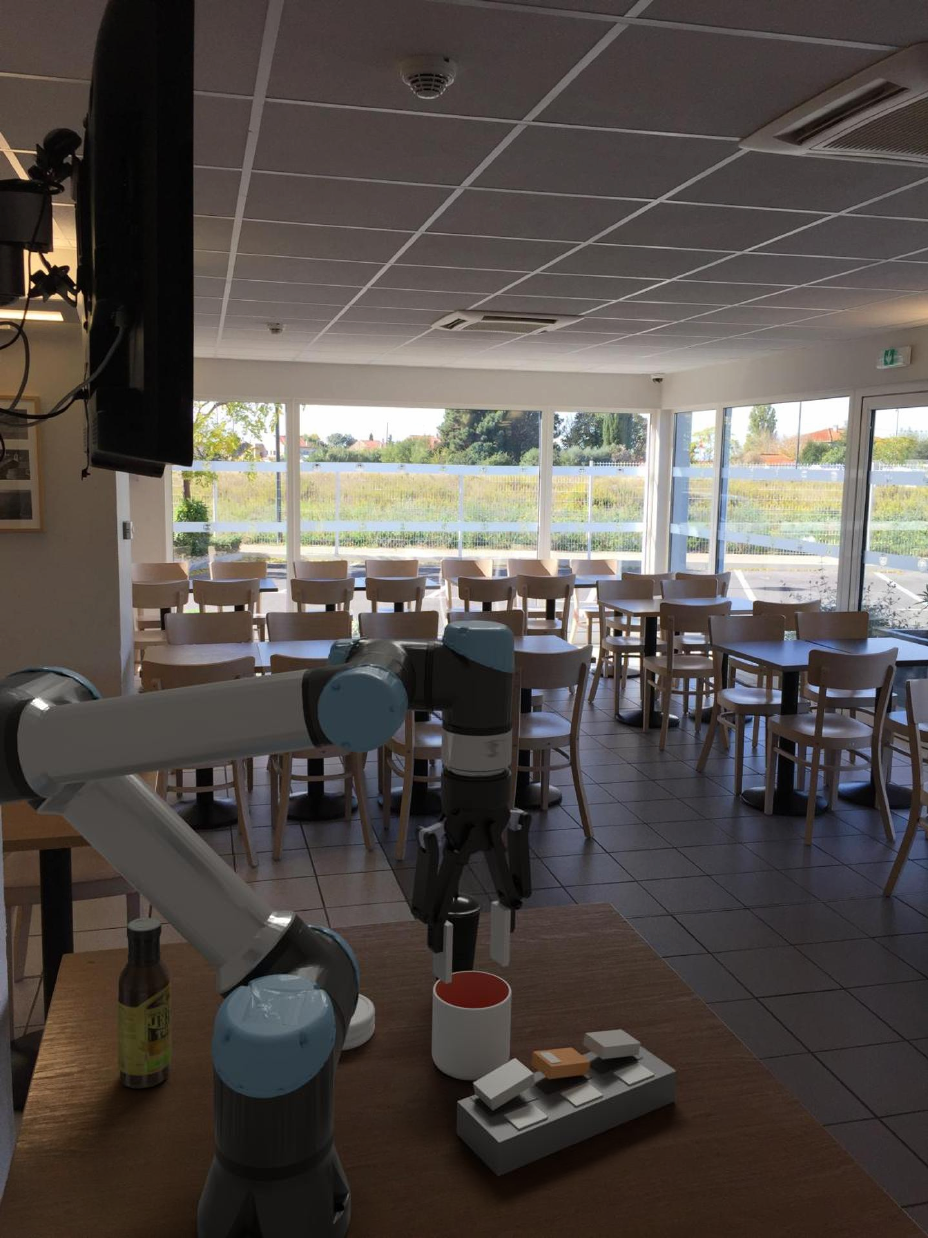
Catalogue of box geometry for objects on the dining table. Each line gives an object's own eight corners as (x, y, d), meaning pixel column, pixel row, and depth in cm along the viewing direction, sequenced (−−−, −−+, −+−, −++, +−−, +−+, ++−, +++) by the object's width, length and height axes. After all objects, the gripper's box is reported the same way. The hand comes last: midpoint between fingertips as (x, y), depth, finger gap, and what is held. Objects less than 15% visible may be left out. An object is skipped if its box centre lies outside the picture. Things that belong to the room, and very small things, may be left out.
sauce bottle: (156, 1095, 123) (152, 939, 120) (109, 1088, 124) (104, 933, 121) (181, 1066, 129) (178, 916, 126) (136, 1059, 130) (132, 911, 128)
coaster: (321, 1007, 144) (321, 984, 144) (386, 1021, 141) (386, 997, 141) (286, 1044, 135) (286, 1019, 135) (355, 1059, 132) (355, 1034, 131)
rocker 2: (548, 1079, 118) (551, 1066, 118) (530, 1064, 121) (533, 1051, 121) (587, 1074, 122) (590, 1061, 122) (569, 1059, 125) (571, 1046, 125)
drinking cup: (462, 1011, 144) (465, 875, 141) (417, 996, 148) (419, 863, 145) (489, 989, 150) (493, 858, 147) (445, 974, 154) (448, 847, 151)
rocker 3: (602, 1059, 123) (604, 1047, 123) (583, 1045, 126) (585, 1033, 126) (638, 1055, 126) (640, 1043, 126) (618, 1041, 129) (621, 1029, 129)
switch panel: (498, 1176, 110) (499, 1141, 109) (456, 1133, 117) (457, 1100, 116) (674, 1101, 124) (676, 1069, 123) (627, 1067, 131) (629, 1036, 130)
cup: (502, 1090, 126) (504, 1014, 124) (423, 1079, 127) (424, 1004, 126) (514, 1046, 135) (517, 975, 134) (441, 1036, 137) (442, 966, 136)
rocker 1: (492, 1110, 114) (490, 1099, 114) (474, 1094, 117) (473, 1083, 117) (535, 1084, 117) (533, 1073, 117) (516, 1069, 120) (515, 1058, 120)
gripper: (413, 789, 101) (410, 1008, 104) (571, 762, 111) (563, 962, 114) (377, 770, 107) (375, 977, 110) (530, 746, 117) (523, 935, 121)
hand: (471, 969), depth 112 cm, fingers open, 7 cm apart
